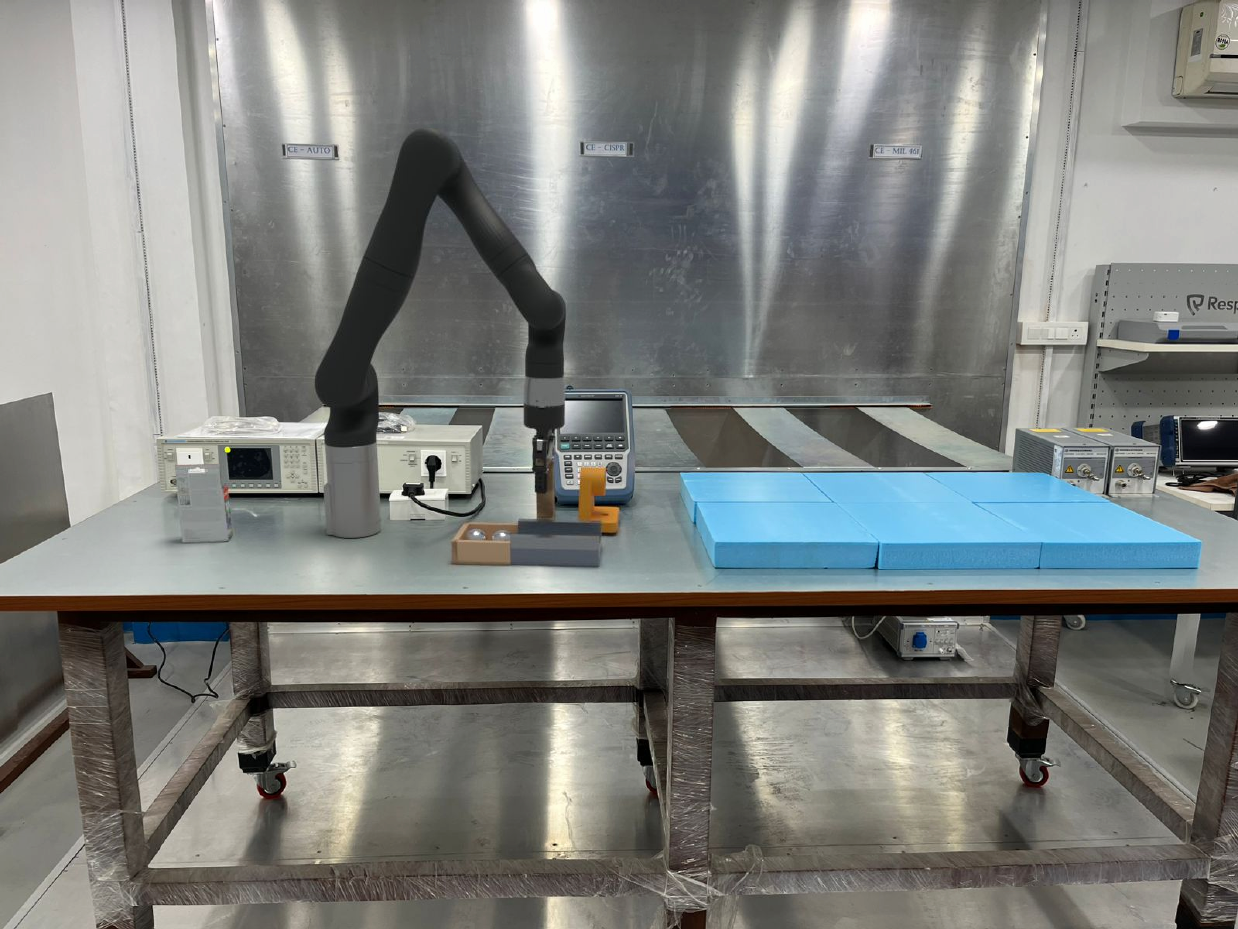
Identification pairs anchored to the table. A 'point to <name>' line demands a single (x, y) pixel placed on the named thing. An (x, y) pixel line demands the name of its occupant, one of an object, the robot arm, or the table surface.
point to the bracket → (590, 486)
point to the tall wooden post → (546, 496)
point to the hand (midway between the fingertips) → (543, 486)
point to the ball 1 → (476, 535)
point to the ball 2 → (501, 536)
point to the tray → (482, 545)
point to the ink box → (203, 504)
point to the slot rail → (557, 543)
